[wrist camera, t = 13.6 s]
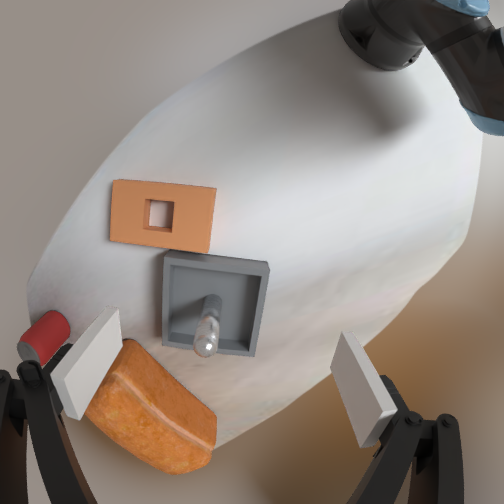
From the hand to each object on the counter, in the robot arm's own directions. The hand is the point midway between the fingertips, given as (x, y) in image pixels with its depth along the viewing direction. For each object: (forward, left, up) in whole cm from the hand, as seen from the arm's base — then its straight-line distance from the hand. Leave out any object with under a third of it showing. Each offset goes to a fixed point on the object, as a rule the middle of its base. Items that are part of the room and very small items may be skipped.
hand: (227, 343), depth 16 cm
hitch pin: (+2, +11, -27) cm, 29 cm away
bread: (+12, +34, -29) cm, 46 cm away
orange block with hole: (+11, -2, -28) cm, 30 cm away
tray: (+2, +11, -28) cm, 30 cm away
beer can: (+33, +22, -28) cm, 49 cm away
